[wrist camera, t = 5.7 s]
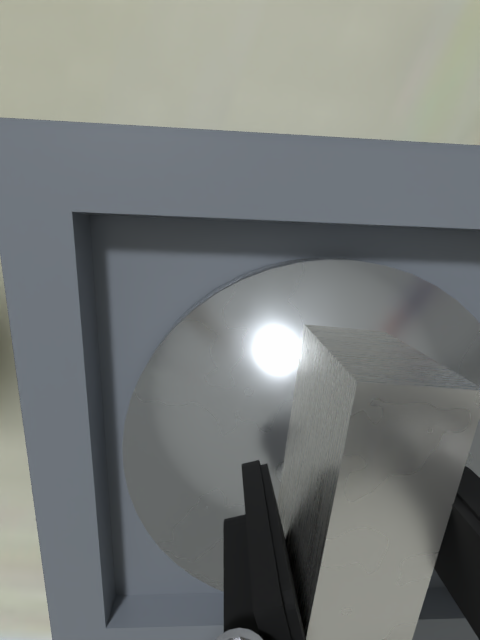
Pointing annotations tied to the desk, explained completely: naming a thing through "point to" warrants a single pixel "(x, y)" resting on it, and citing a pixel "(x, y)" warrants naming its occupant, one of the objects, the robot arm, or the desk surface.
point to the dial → (314, 433)
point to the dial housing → (174, 301)
